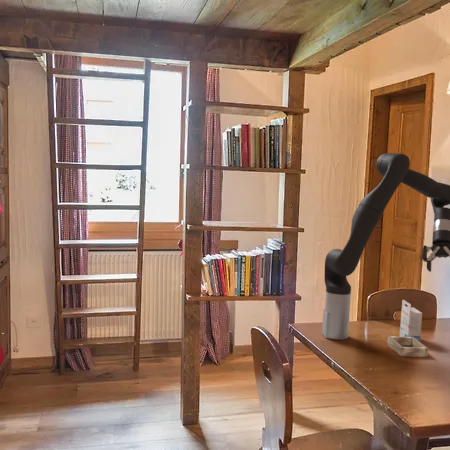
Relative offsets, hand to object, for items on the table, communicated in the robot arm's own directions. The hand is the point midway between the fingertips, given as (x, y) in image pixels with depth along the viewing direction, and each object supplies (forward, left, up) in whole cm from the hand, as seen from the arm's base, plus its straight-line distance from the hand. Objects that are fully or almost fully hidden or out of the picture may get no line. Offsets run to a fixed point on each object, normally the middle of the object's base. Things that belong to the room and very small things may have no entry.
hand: (441, 271), depth 193 cm
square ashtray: (-18, -15, -26) cm, 35 cm away
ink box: (-12, -3, -27) cm, 29 cm away
